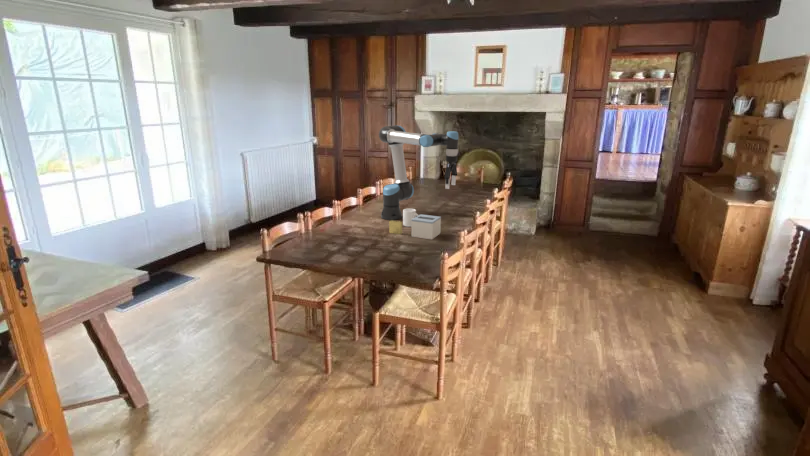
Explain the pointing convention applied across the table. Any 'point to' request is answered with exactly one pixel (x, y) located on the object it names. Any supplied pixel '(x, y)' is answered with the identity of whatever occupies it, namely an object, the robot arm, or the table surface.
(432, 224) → the coin box
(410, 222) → the mug
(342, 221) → the table surface
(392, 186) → the robot arm
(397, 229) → the block
